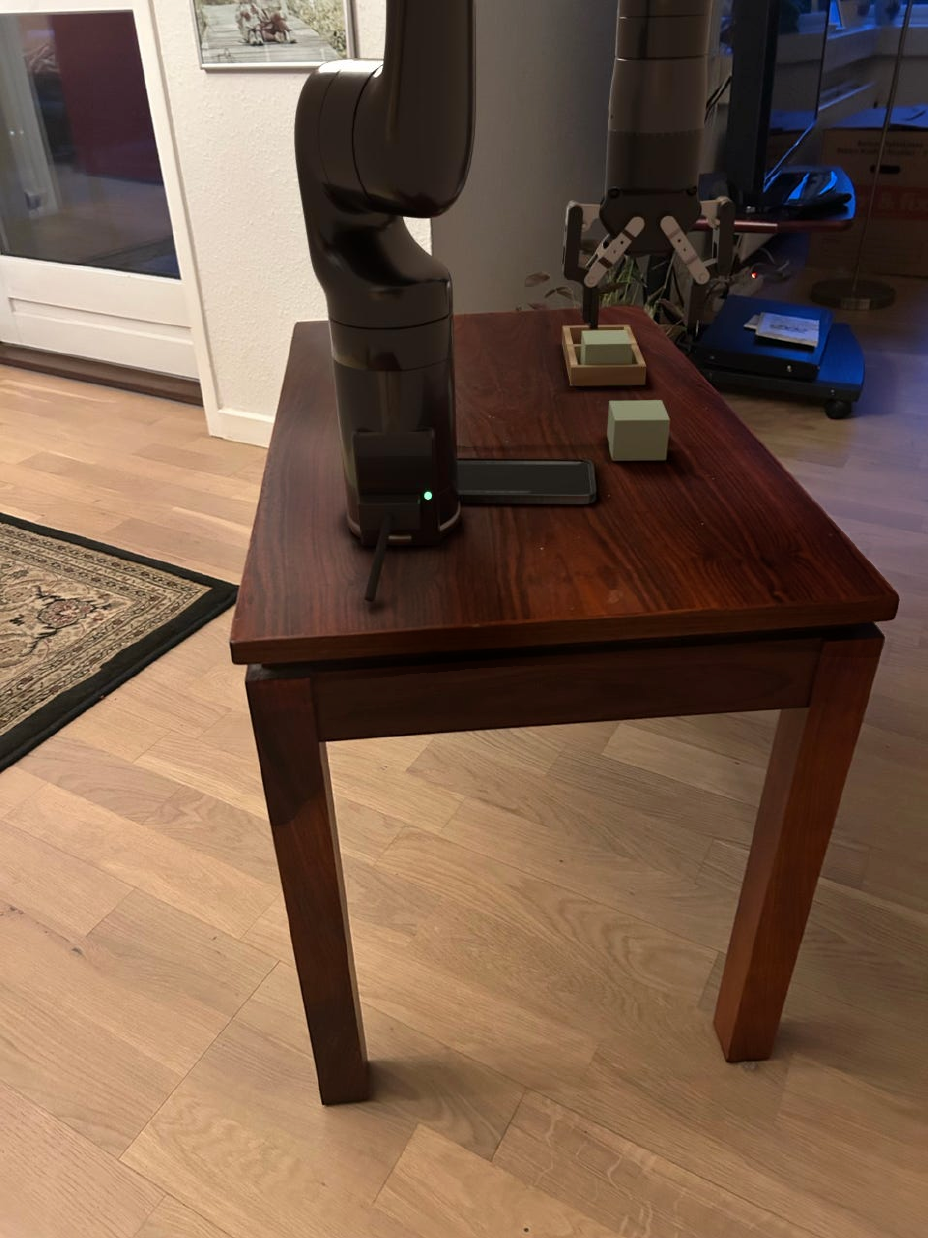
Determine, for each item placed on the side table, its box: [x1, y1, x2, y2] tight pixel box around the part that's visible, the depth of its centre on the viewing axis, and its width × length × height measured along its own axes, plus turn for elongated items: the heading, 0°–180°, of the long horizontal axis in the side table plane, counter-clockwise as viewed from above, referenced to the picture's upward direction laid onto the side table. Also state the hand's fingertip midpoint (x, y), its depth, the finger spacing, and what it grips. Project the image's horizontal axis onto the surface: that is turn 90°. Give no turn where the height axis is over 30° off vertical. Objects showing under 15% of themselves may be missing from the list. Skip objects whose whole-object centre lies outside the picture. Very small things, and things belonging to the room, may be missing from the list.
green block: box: [606, 399, 671, 462], centre depth 89 cm, size 5×5×4 cm
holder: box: [561, 324, 647, 387], centre depth 109 cm, size 15×8×3 cm, turn 179°
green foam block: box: [580, 330, 632, 365], centre depth 105 cm, size 5×5×4 cm
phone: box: [457, 457, 597, 505], centre depth 84 cm, size 8×1×15 cm
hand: (640, 326), depth 84 cm, fingers open, 8 cm apart
